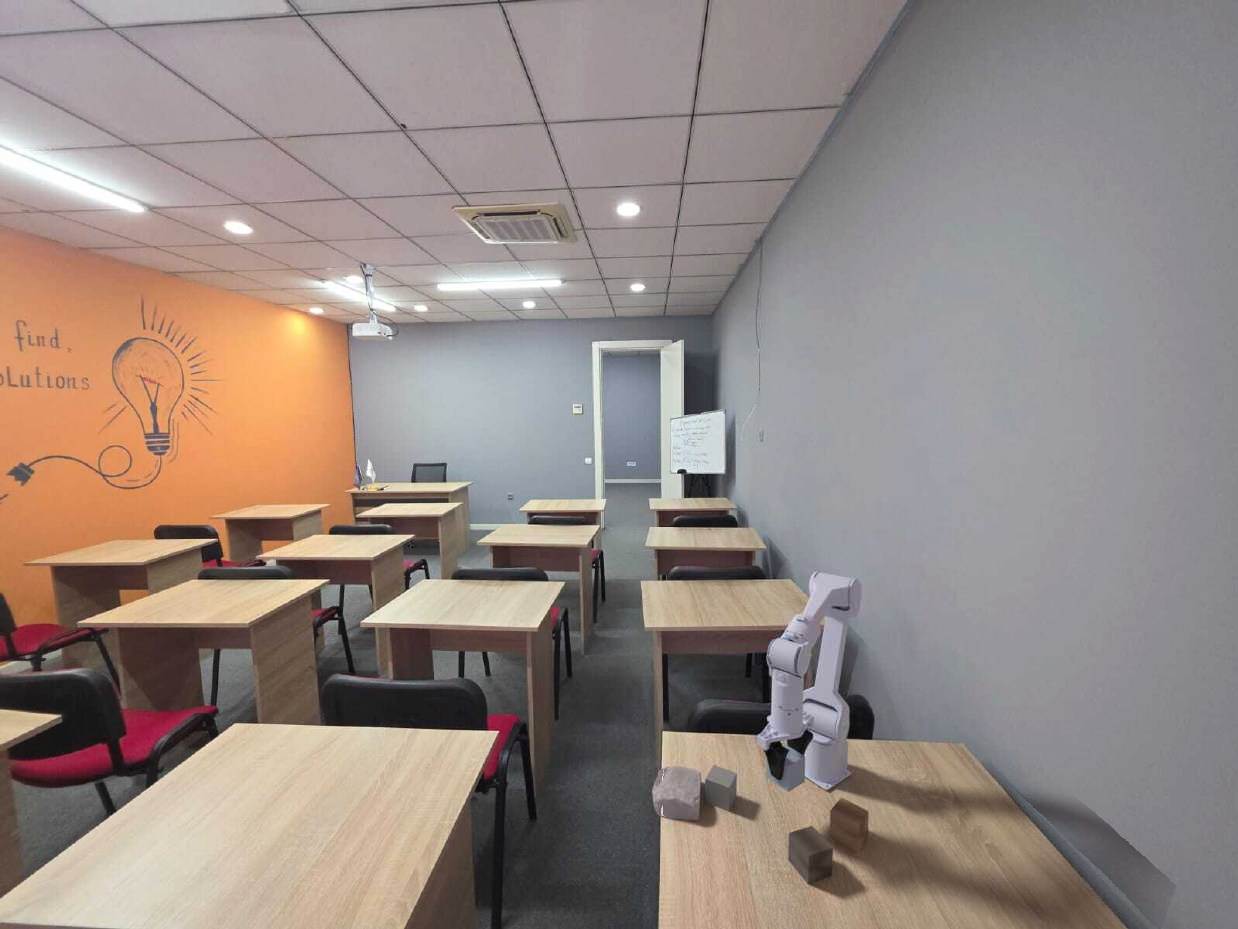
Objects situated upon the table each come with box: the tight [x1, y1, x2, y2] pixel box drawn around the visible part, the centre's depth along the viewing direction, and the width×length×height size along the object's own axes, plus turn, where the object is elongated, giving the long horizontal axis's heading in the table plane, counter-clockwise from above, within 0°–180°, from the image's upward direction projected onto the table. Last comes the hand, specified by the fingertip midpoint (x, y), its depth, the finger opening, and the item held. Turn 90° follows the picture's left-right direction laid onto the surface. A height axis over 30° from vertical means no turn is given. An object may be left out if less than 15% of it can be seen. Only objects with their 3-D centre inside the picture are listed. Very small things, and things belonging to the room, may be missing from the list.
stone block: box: [651, 765, 702, 822], centre depth 100 cm, size 12×5×10 cm
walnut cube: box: [829, 796, 870, 853], centre depth 90 cm, size 5×5×5 cm
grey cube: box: [704, 764, 738, 812], centre depth 100 cm, size 5×5×5 cm
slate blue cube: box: [765, 743, 806, 793], centre depth 94 cm, size 5×5×5 cm
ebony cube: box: [787, 825, 834, 885], centre depth 84 cm, size 5×5×5 cm
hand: (785, 771), depth 94 cm, fingers closed on slate blue cube, 5 cm apart
